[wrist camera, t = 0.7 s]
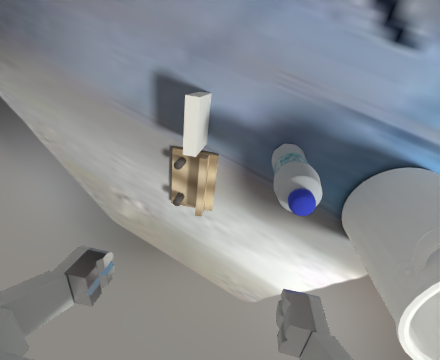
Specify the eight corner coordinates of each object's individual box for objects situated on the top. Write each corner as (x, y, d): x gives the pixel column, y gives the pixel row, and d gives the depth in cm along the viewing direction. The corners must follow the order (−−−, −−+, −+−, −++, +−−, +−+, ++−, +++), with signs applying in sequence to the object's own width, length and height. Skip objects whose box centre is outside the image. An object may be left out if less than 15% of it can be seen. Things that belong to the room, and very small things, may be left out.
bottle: (263, 161, 46) (266, 215, 29) (281, 134, 43) (296, 174, 26) (291, 176, 47) (310, 238, 29) (311, 150, 44) (345, 200, 26)
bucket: (476, 230, 45) (679, 374, 23) (368, 268, 53) (443, 402, 32) (425, 130, 39) (635, 199, 17) (312, 191, 47) (358, 290, 26)
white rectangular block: (199, 91, 43) (185, 95, 35) (211, 93, 42) (200, 97, 34) (196, 141, 47) (182, 154, 39) (206, 143, 47) (195, 157, 39)
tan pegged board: (174, 146, 48) (167, 152, 45) (218, 154, 47) (215, 160, 44) (172, 201, 54) (166, 209, 51) (212, 208, 53) (208, 218, 50)
